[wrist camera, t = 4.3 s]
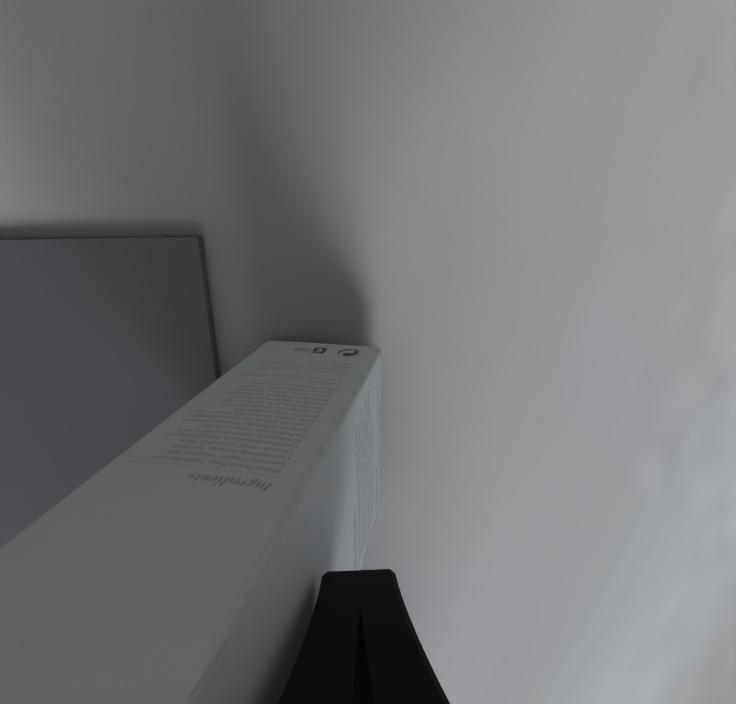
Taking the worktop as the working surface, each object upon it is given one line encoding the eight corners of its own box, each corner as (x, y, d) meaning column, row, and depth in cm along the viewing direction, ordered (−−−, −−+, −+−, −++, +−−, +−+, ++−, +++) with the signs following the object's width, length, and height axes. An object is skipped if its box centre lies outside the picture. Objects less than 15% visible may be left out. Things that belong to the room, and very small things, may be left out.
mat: (242, 559, 19) (240, 567, 19) (-109, 573, 18) (-119, 581, 18) (201, 235, 15) (197, 237, 14) (-258, 242, 14) (-275, 243, 14)
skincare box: (263, 336, 16) (-255, 679, 5) (391, 343, 15) (115, 799, 4) (279, 488, 18) (-58, 978, 7) (392, 503, 17) (215, 1109, 6)
